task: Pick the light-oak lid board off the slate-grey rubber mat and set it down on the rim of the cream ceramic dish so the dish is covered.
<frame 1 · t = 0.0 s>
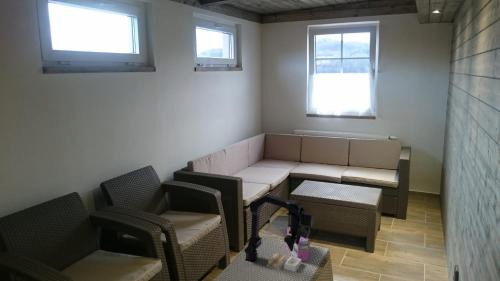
hand: (294, 247, 217), 15 cm above the table, fingers open, 9 cm apart
mat: (276, 263, 229), on the table
gum box: (297, 253, 242), on the table
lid: (276, 262, 228), resting on mat
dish: (292, 266, 225), on the table
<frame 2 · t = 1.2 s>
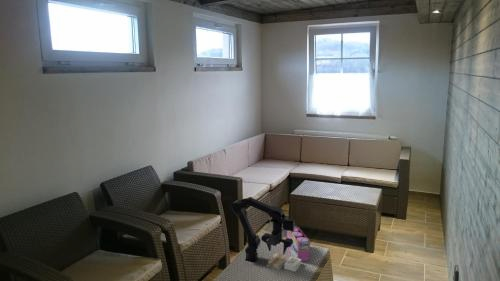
hand: (276, 252, 227), 7 cm above the table, fingers open, 9 cm apart
nothing on the table moved.
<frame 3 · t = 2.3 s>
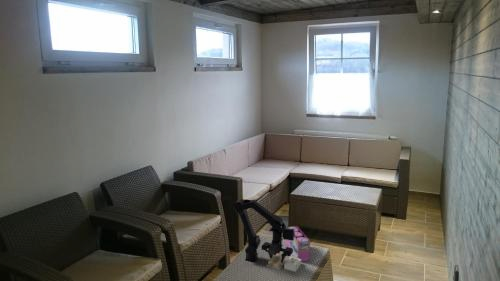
hand: (276, 261, 228), 1 cm above the table, fingers closed on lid, 6 cm apart
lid: (276, 262, 228), resting on mat, touching gripper
everything else where it was.
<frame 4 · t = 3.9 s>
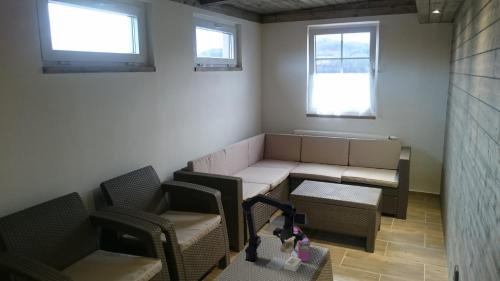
hand: (288, 247, 223), 12 cm above the table, fingers closed on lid, 6 cm apart
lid: (288, 248, 224), point 11 cm above the table, touching gripper
everything else where it was.
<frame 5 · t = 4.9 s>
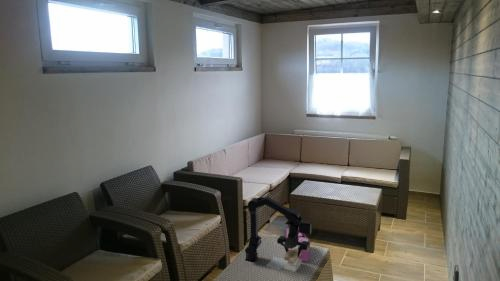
hand: (292, 255, 223), 7 cm above the table, fingers closed on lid, 6 cm apart
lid: (292, 257, 224), point 6 cm above the table, touching gripper
everything else where it was.
when the fingers open (5 cm above the table, at t = 5.7 s): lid drops 1 cm, resting on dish.
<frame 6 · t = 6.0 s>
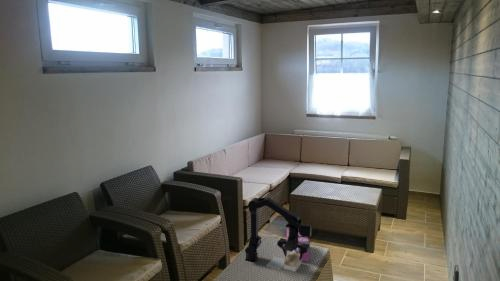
hand: (292, 258, 224), 5 cm above the table, fingers open, 9 cm apart
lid: (292, 261, 224), point 3 cm above the table, touching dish
everything else where it was.
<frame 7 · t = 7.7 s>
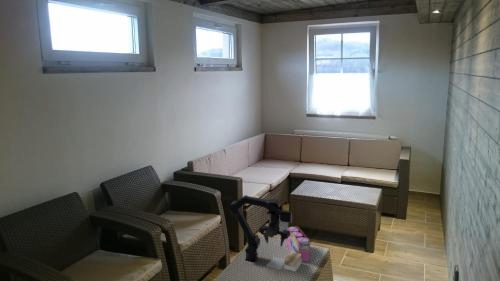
hand: (274, 244, 227), 12 cm above the table, fingers open, 9 cm apart
nothing on the table moved.
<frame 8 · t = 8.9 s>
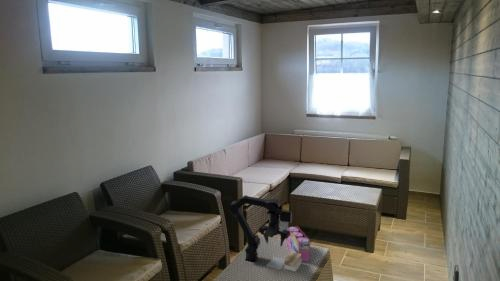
hand: (274, 244, 227), 12 cm above the table, fingers open, 9 cm apart
nothing on the table moved.
at the end: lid 0.1 cm off-centre on the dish, point 3.5 cm above the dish's base; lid tilted 0°; the gripper is holding nothing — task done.
